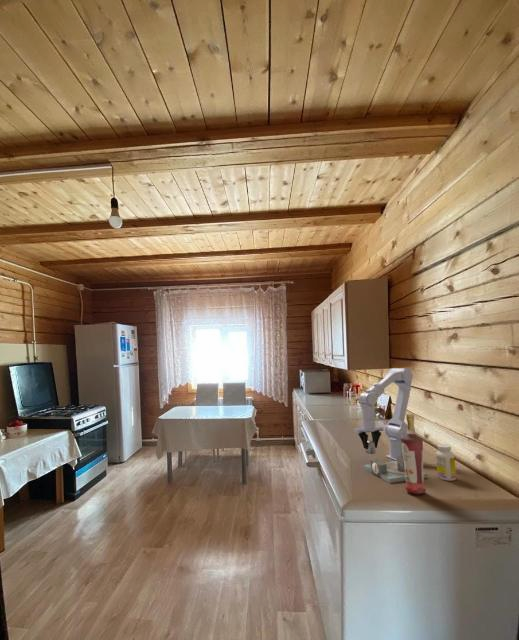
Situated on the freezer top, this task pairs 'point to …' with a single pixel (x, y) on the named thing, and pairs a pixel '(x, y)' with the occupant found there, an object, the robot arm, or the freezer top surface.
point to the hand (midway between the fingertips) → (370, 448)
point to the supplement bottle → (445, 463)
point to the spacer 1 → (371, 447)
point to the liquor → (413, 459)
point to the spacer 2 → (400, 464)
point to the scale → (387, 471)
